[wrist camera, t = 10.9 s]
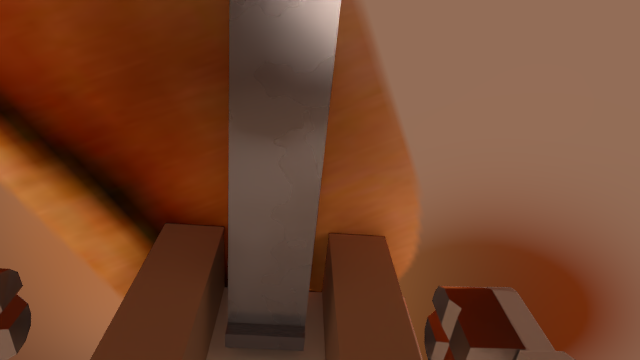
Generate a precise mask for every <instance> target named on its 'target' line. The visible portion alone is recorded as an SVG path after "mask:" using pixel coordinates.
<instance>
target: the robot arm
mask: <svg viewBox="0 0 640 360" xmlns="http://www.w3.org/2000/svg"><path fill="white" fill-rule="evenodd" d="M22 286H23V285H22V282H21V280H20V277H19V274H18V272H16V271H13V270H11V269H1V268H0V360H8V359H10V358H11V357H13V356H15V355H16V354H17V353H18V352H19V350H20V349H21V347H22V345H23V344H24V342H25V341H26V338H27V335H28V332H29V329H30V326H31V312H30V309H29V305H28V303H27V302H25V301H24V300H23V299H22V298H21V297H19V296H18V295H17V293H18V292H19V290H20V289H21V288H22ZM432 301H433V304H434V307H435V309H436V310H435V311H434V312H433V313H432V314H431V315H429V316H428V318H427V322H426V326H425V348H426V354H427V357H428V360H575V359H573V358H572V357H570V356H569V355H568V354H566V353H565V352H560V351H555V349H554V348H553V346H552V345H551V343H550V342H549V340H548V339H547V337H546V336H545V334H544V333H543V331H542V330H541V328H540V327H539V325H538V324H537V322H536V321H535V319H534V317H533V316H532V314H531V313H530V312H529V310H528V308H527V307H526V305H525V304H524V302H523V301H522V299H521V298H520V296H519V295H518V293H517V292H516V291H515V290H514V289H512V288H509V287H508V288H507V287H506V288H505V287H486V288H484V287H455V286H438V288H437V289H436V291H435V293H434V296H433V300H432Z"/></svg>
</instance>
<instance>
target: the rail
mask: <svg viewBox="0 0 640 360" xmlns="http://www.w3.org/2000/svg"><path fill="white" fill-rule="evenodd" d="M340 6H341V0H230V4H229V186H228V323H227V328H226V333H225V347H228V348H249V349H271V350H292V351H304V342H305V322H306V313H307V304H308V295H309V286H310V277H311V268H312V259H313V250H314V241H315V232H316V223H317V214H318V205H319V196H320V187H321V178H322V169H323V160H324V151H325V142H326V133H327V124H328V115H329V106H330V97H331V88H332V79H333V70H334V61H335V52H336V43H337V34H338V25H339V15H340Z"/></svg>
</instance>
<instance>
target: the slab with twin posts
mask: <svg viewBox="0 0 640 360" xmlns="http://www.w3.org/2000/svg"><path fill="white" fill-rule="evenodd" d="M227 323H228V287H225V269H224V227H219V226H202V225H186V224H170V223H165V225H164V227H163V229H162V230H161V232H160V234H159V236H158V238H157V240H156V241H155V243H154V245H153V247H152V249H151V250H150V252H149V254H148V256H147V258H146V259H145V261H144V263H143V265H142V267H141V269H140V270H139V272H138V274H137V276H136V278H135V279H134V281H133V283H132V285H131V287H130V288H129V290H128V292H127V294H126V296H125V297H124V299H123V301H122V303H121V305H120V307H119V309H118V310H117V312H116V314H115V316H114V318H113V319H112V321H111V323H110V325H109V326H108V328H107V330H106V332H105V334H104V336H103V338H102V339H101V341H100V343H99V345H98V346H97V348H96V350H95V352H94V354H93V355H92V357H91V359H90V360H423V359H422V356H421V352H420V349H419V346H418V342H417V339H416V335H415V332H414V329H413V325H412V322H411V319H410V316H409V312H408V309H407V305H406V302H405V299H404V297H403V296H402V293H401V290H400V287H399V283H398V280H397V276H396V273H395V269H394V266H393V263H392V259H391V256H390V252H389V249H388V245H387V242H386V239H385V237H382V236H366V235H349V234H333V233H329V238H328V247H327V255H326V263H325V272H324V280H323V288H322V292H309V295H308V304H307V313H306V322H305V342H304V351H292V350H271V349H249V348H228V347H225V333H226V328H227Z"/></svg>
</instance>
